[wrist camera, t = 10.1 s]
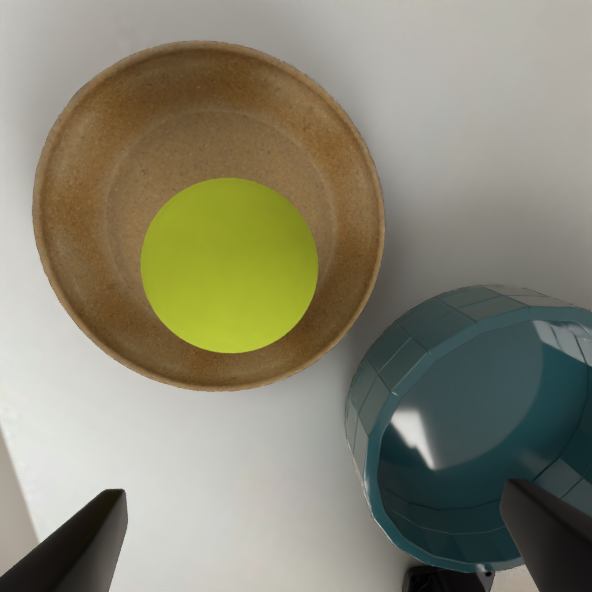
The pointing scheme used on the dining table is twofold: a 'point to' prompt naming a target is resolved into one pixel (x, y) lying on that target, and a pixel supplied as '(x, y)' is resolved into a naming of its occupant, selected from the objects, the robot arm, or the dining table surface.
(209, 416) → the dining table surface
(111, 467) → the dining table surface
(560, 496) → the glazed bowl
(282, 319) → the ball
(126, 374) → the dining table surface
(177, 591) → the dining table surface
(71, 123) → the plant saucer
